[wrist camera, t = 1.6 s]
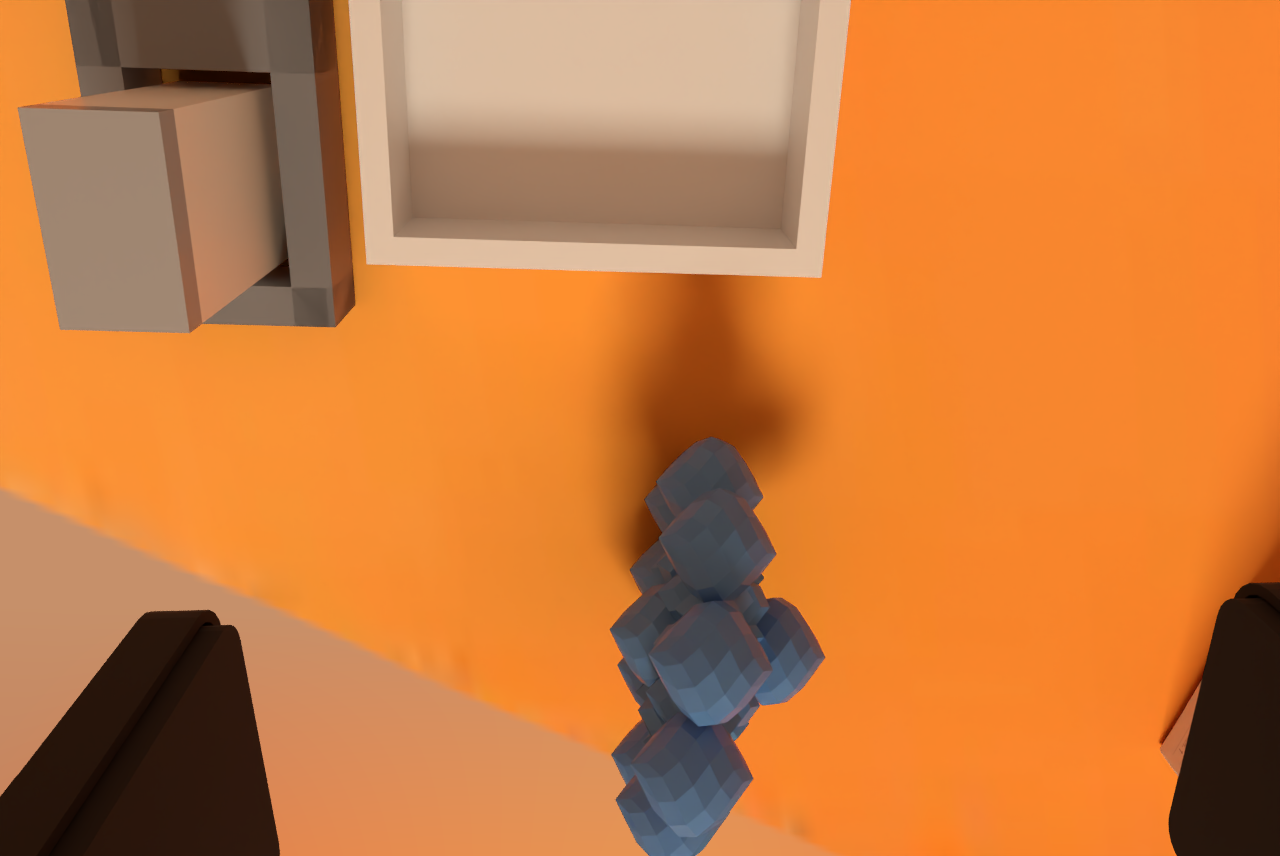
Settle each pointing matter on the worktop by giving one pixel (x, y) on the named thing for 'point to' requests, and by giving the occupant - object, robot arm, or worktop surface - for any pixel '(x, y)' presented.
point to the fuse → (156, 202)
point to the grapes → (701, 651)
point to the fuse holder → (304, 118)
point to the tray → (598, 133)
